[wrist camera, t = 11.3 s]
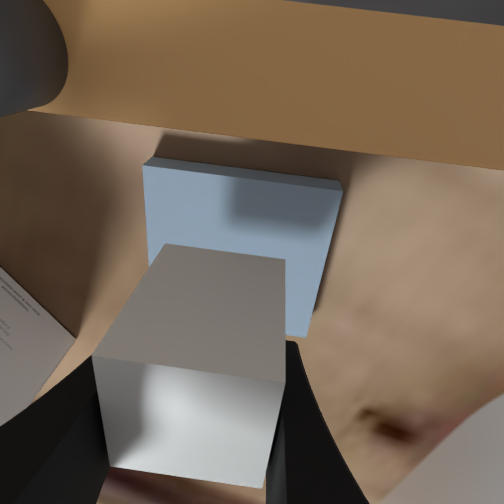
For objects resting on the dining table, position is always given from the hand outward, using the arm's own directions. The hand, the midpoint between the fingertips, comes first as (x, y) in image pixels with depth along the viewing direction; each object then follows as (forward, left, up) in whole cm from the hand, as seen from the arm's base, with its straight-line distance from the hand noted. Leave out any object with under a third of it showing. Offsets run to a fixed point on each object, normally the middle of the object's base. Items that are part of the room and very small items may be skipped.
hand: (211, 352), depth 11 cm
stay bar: (-1, -8, -1) cm, 8 cm away
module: (0, -1, -2) cm, 2 cm away
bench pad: (0, 0, -7) cm, 7 cm away
